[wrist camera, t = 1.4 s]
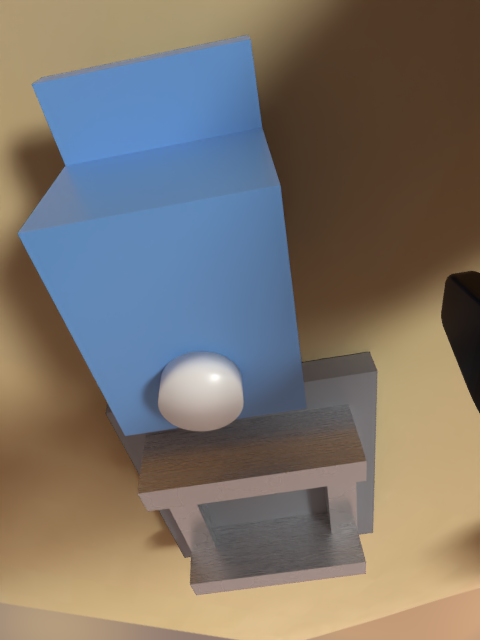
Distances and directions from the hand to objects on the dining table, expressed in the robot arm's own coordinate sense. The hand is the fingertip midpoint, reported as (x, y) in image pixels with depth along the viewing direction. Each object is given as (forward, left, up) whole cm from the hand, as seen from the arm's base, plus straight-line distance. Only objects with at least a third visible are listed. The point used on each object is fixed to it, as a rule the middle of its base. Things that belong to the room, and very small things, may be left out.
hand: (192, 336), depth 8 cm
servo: (0, 0, -6) cm, 6 cm away
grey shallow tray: (0, +13, -6) cm, 14 cm away
